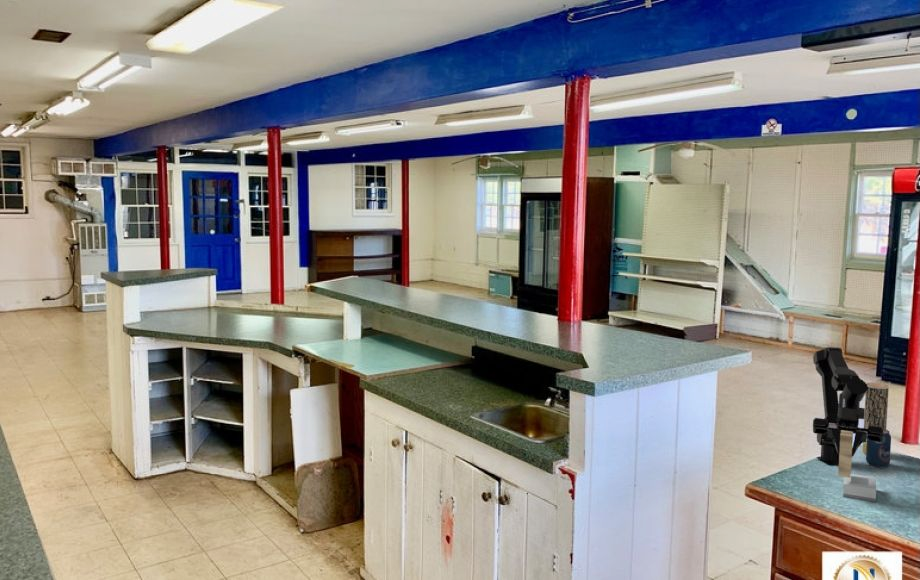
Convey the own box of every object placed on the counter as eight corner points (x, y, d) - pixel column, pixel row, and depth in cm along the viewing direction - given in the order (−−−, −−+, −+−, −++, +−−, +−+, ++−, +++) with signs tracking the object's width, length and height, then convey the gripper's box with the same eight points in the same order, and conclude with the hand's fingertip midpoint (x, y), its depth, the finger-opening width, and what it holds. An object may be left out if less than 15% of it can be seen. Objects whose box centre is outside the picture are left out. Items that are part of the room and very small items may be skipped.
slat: (838, 470, 214) (841, 430, 213) (850, 472, 213) (853, 431, 211) (838, 476, 211) (840, 434, 209) (850, 477, 209) (852, 436, 207)
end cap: (843, 484, 220) (844, 472, 220) (874, 489, 216) (875, 477, 215) (843, 496, 211) (843, 483, 211) (875, 501, 207) (876, 489, 207)
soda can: (883, 470, 231) (886, 435, 230) (861, 464, 237) (863, 430, 235) (893, 465, 235) (895, 430, 234) (871, 459, 241) (873, 425, 239)
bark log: (862, 449, 250) (866, 381, 247) (884, 452, 247) (888, 383, 244) (862, 455, 245) (865, 386, 242) (884, 458, 241) (888, 388, 238)
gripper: (814, 392, 217) (810, 437, 209) (884, 400, 207) (883, 448, 199) (815, 410, 224) (811, 454, 216) (883, 418, 215) (881, 464, 207)
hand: (845, 455), depth 210 cm, fingers closed on slat, 3 cm apart
